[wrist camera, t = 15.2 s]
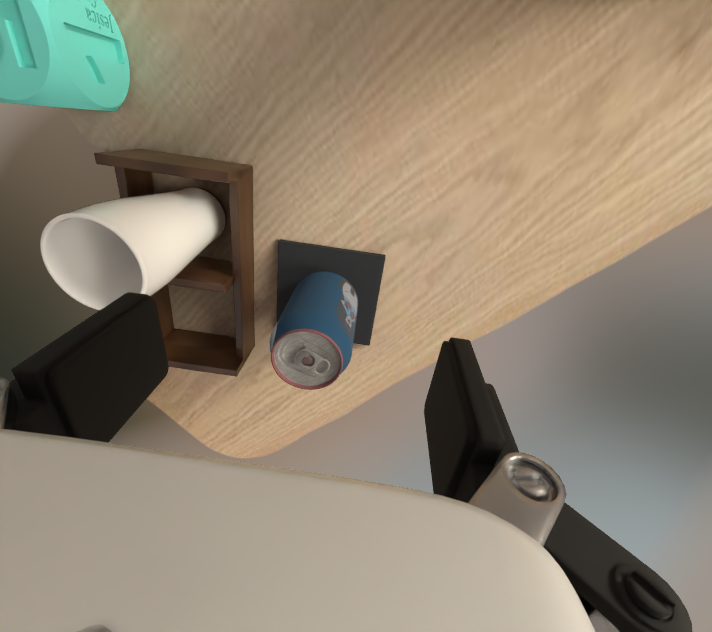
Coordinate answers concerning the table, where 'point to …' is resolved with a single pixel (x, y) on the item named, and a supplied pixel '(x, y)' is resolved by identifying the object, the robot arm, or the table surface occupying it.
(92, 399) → the robot arm
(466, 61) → the table surface
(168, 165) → the drinks rack
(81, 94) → the decorative dice
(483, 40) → the table surface
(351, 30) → the table surface
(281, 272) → the coaster
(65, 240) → the white tall tumbler
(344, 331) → the soda can
